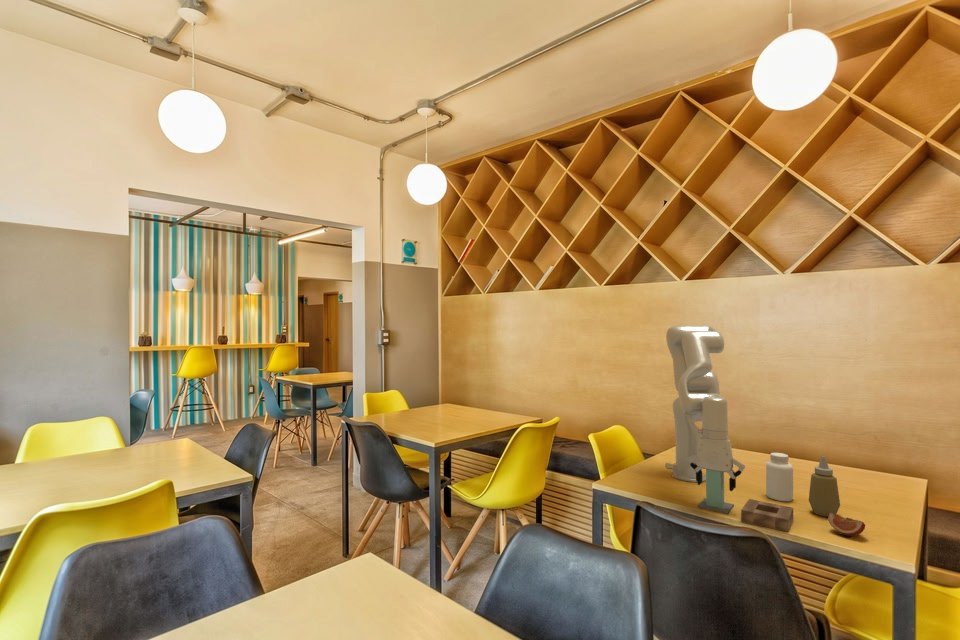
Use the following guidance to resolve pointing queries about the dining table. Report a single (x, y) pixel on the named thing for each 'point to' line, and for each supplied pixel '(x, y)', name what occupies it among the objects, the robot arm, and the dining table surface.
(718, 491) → the teal block
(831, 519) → the fruit slice
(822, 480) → the squeeze bottle
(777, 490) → the pill bottle
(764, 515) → the pocket base
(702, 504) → the rubber mat
